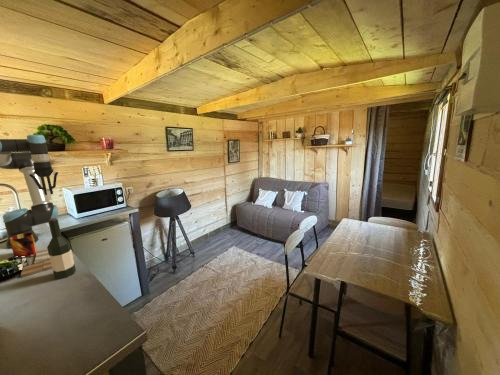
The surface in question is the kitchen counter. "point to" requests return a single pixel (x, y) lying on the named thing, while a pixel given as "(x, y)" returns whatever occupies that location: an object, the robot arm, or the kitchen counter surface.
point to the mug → (23, 245)
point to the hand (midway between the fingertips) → (50, 199)
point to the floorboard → (36, 268)
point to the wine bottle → (60, 252)
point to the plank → (42, 256)
